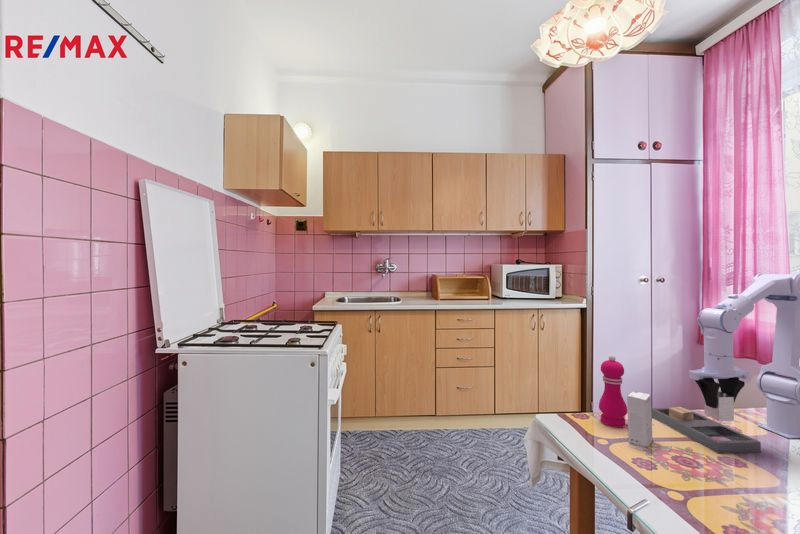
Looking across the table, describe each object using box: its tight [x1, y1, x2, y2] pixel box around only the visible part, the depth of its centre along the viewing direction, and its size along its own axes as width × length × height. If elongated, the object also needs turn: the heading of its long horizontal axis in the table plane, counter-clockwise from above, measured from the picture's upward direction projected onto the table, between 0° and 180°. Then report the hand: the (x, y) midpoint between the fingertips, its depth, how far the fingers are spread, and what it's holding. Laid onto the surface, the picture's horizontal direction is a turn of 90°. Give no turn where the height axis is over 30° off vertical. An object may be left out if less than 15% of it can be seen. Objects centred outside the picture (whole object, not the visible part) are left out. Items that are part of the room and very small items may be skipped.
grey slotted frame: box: [651, 407, 762, 454], centre depth 97 cm, size 11×22×2 cm, turn 2°
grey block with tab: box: [703, 390, 735, 422], centre depth 91 cm, size 4×4×7 cm
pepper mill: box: [598, 354, 628, 428], centre depth 103 cm, size 7×7×20 cm
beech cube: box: [668, 406, 694, 421], centre depth 103 cm, size 4×4×4 cm
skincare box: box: [626, 391, 653, 448], centre depth 92 cm, size 6×4×12 cm
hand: (719, 406), depth 91 cm, fingers closed on grey block with tab, 4 cm apart
